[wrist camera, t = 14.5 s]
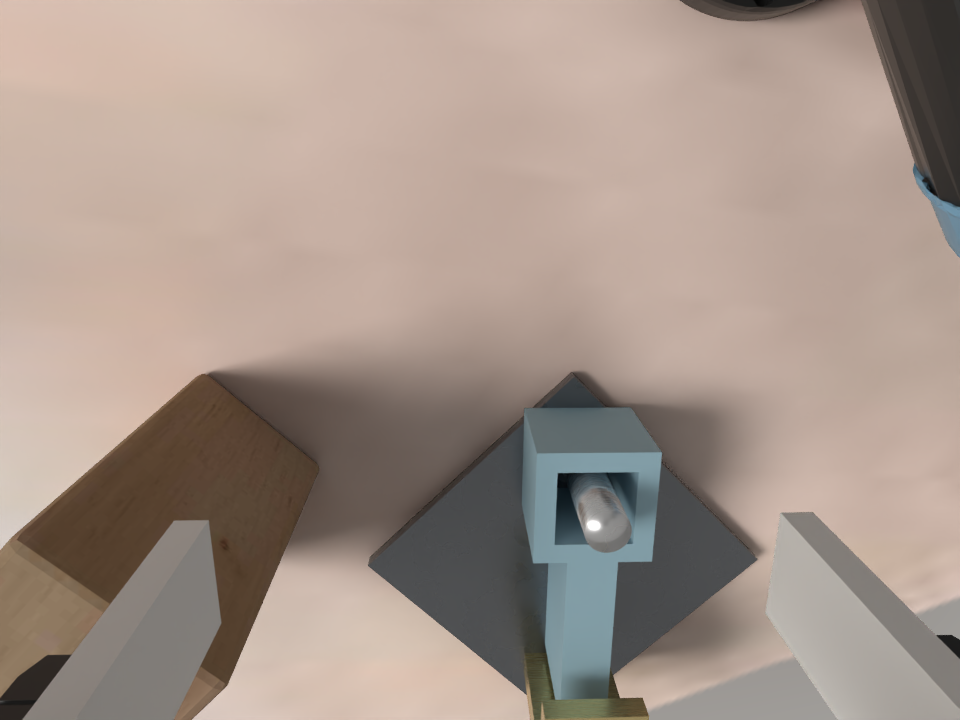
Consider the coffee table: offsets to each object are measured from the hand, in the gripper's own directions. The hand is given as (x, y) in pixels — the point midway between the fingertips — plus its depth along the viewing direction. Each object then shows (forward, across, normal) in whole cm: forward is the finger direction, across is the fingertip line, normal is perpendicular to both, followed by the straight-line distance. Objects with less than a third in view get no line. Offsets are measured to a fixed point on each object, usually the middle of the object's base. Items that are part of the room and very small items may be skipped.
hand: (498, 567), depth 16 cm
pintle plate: (+29, +7, -18) cm, 35 cm away
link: (+28, +7, -16) cm, 33 cm away
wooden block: (+29, -17, -11) cm, 35 cm away
